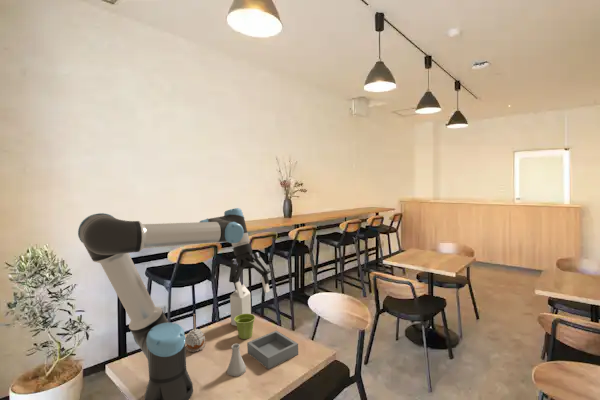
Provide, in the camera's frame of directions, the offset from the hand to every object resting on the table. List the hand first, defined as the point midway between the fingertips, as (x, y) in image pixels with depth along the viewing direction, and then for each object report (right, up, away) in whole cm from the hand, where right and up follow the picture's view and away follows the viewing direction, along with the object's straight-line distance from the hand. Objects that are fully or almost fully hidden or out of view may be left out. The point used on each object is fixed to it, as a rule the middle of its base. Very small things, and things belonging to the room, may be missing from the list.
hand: (254, 294), depth 133 cm
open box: (+8, -24, 0) cm, 26 cm away
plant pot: (-6, -23, +15) cm, 28 cm away
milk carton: (-10, -22, +27) cm, 37 cm away
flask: (-5, -26, -11) cm, 28 cm away
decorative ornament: (-26, -25, +6) cm, 36 cm away
